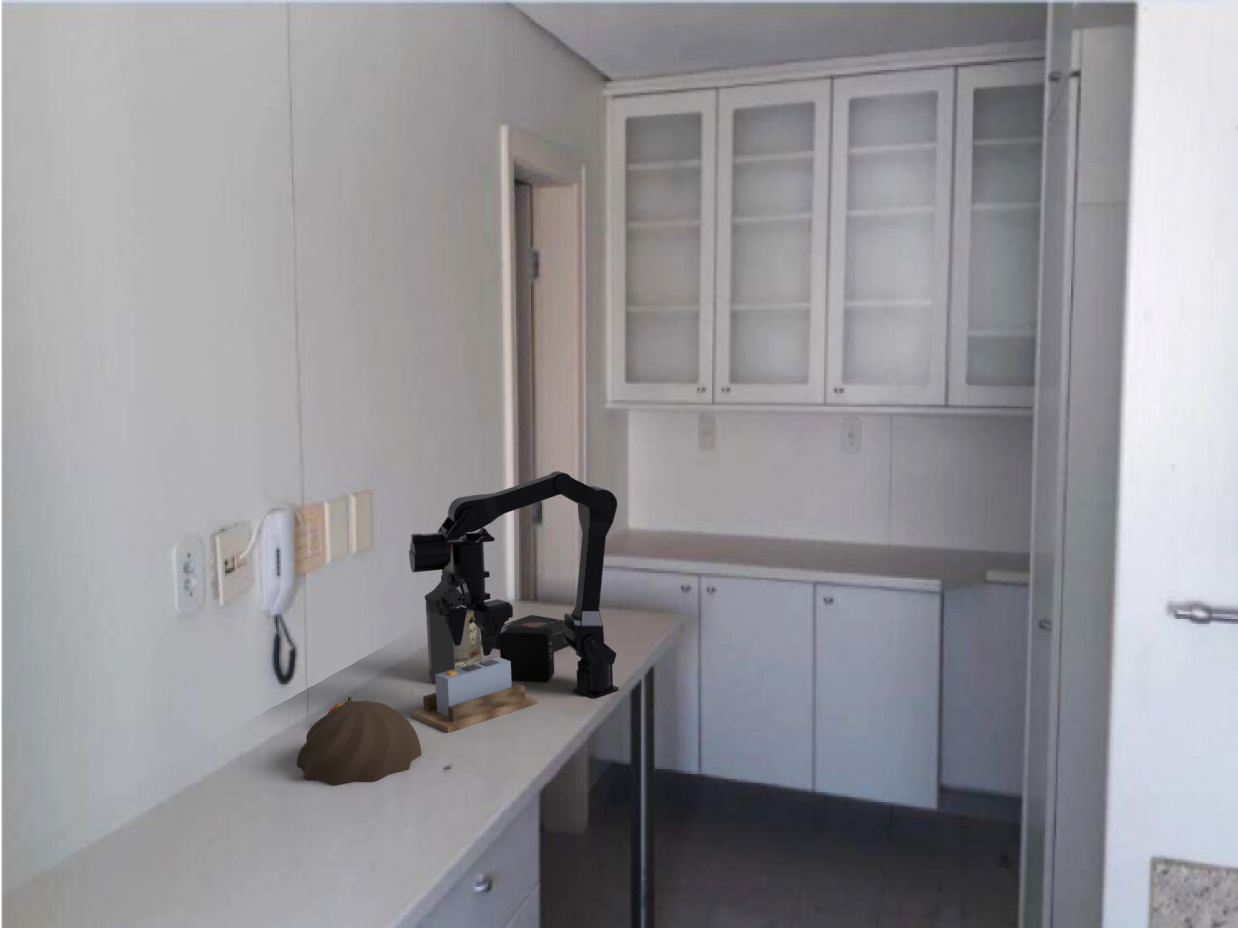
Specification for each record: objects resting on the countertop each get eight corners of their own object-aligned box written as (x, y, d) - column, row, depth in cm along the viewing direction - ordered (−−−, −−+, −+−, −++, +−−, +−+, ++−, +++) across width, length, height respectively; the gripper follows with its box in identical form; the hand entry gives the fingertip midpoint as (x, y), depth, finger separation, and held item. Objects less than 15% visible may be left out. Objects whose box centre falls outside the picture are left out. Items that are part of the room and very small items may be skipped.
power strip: (499, 692, 191) (497, 654, 190) (512, 697, 188) (510, 659, 188) (437, 711, 182) (435, 672, 181) (449, 717, 179) (447, 676, 178)
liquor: (424, 683, 201) (416, 536, 198) (448, 669, 210) (441, 528, 206) (463, 687, 198) (456, 538, 194) (486, 673, 206) (480, 530, 203)
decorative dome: (438, 741, 171) (436, 684, 170) (389, 790, 152) (386, 727, 151) (334, 735, 175) (331, 679, 174) (273, 783, 156) (269, 720, 155)
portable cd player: (530, 630, 239) (529, 614, 239) (586, 640, 229) (586, 623, 229) (482, 647, 226) (481, 630, 226) (540, 659, 216) (539, 641, 216)
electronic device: (549, 682, 199) (547, 633, 198) (501, 680, 201) (499, 632, 200) (554, 675, 204) (553, 628, 202) (507, 674, 206) (505, 626, 204)
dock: (499, 688, 196) (498, 671, 196) (537, 703, 188) (537, 685, 187) (410, 716, 183) (410, 697, 182) (448, 732, 174) (447, 713, 174)
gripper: (402, 567, 183) (406, 649, 185) (461, 582, 170) (464, 671, 172) (453, 557, 191) (456, 637, 193) (513, 571, 178) (516, 656, 179)
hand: (472, 650), depth 184 cm, fingers open, 9 cm apart
